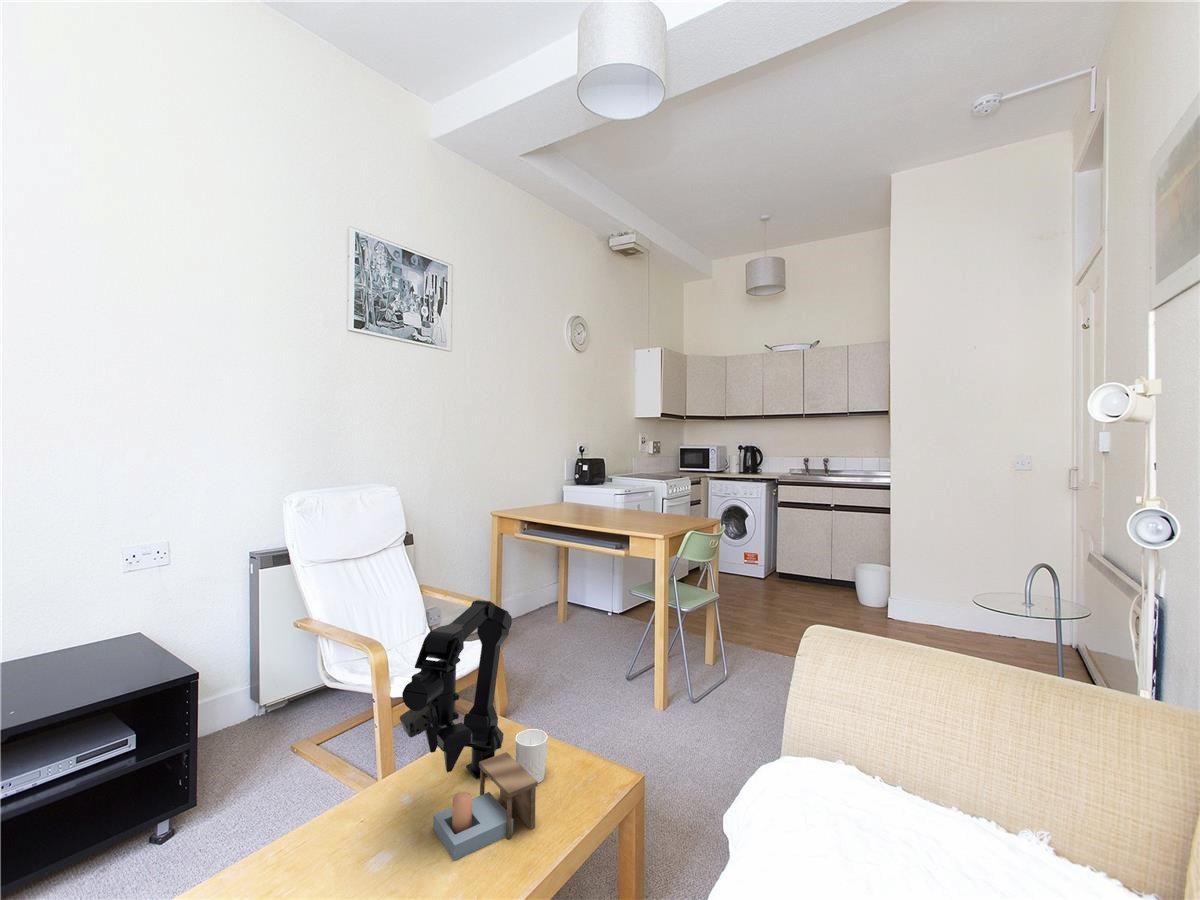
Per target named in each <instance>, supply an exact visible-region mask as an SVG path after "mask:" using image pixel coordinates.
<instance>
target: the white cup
mask: <svg viewBox="0 0 1200 900" xmlns="http://www.w3.org/2000/svg"><path fill="white" fill-rule="evenodd" d="M514 739H515V760H516V761H517V762H518V763H519V764H520V765H521V766H522V767H523V768H524V769H525V770H526V771H527V772H528V773H529V774H530V775H532V776H533V777H534V778H535V779H536V780H537V781H538V784H541V783H542V781H543V780H544V779H545V775H546V764H547V756H548V755H547V752H548V734H547V732H545V731H544V730H541V729H537V728H527V729H524V730H522V731H520V732H518V733H517V734H516V735H515V738H514Z"/></svg>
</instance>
